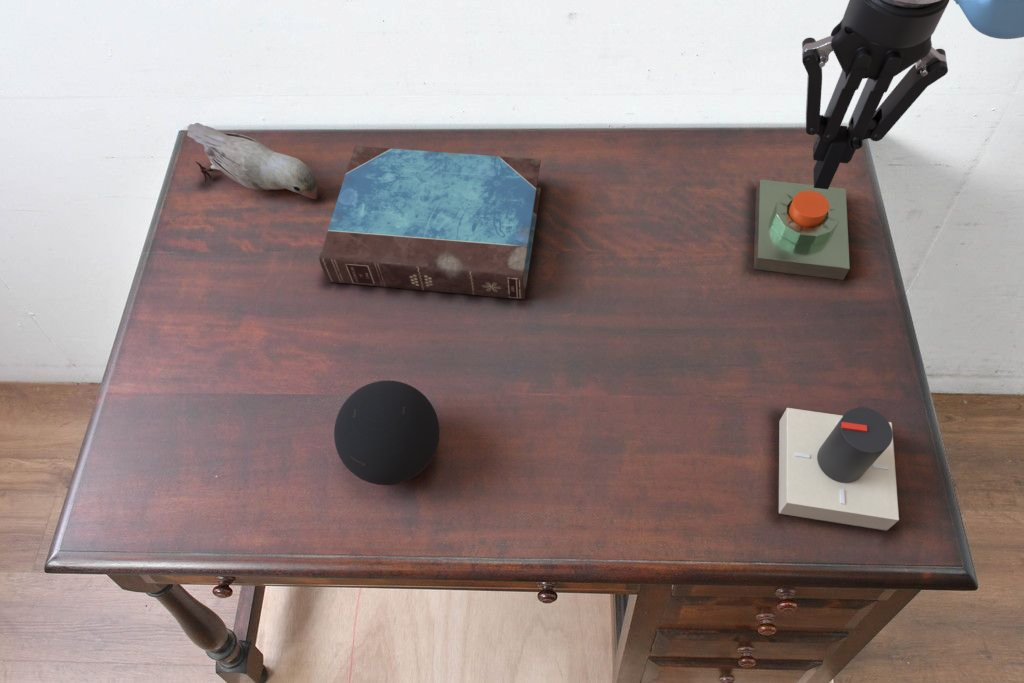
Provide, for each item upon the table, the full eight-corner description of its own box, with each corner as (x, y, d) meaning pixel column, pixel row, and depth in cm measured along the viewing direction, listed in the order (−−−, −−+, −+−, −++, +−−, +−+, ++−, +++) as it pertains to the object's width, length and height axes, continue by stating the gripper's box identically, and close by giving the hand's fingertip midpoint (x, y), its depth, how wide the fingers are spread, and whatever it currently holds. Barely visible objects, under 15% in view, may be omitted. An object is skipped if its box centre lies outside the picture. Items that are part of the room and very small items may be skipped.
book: (328, 284, 92) (318, 258, 88) (362, 172, 101) (355, 144, 97) (523, 302, 90) (522, 276, 86) (541, 186, 99) (541, 157, 95)
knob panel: (887, 530, 75) (900, 519, 72) (778, 513, 76) (787, 502, 73) (880, 435, 80) (892, 421, 77) (779, 420, 81) (787, 406, 79)
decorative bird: (309, 215, 98) (292, 172, 91) (197, 184, 101) (174, 140, 95) (329, 184, 100) (314, 140, 94) (219, 155, 104) (198, 110, 97)
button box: (843, 280, 90) (855, 258, 87) (753, 269, 91) (761, 247, 88) (840, 200, 96) (850, 177, 93) (755, 191, 97) (763, 168, 94)
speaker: (438, 402, 84) (427, 354, 75) (450, 491, 78) (438, 450, 70) (344, 417, 83) (321, 370, 75) (348, 508, 78) (325, 468, 69)
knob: (863, 443, 76) (892, 409, 70) (866, 486, 74) (895, 455, 68) (816, 437, 77) (840, 402, 71) (817, 479, 75) (842, 447, 68)
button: (825, 229, 89) (829, 219, 88) (788, 225, 90) (792, 215, 88) (824, 202, 92) (828, 192, 90) (788, 198, 92) (792, 188, 91)
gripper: (825, 4, 65) (758, 198, 85) (994, 18, 63) (885, 212, 83) (824, -51, 69) (759, 147, 89) (983, -39, 67) (881, 160, 87)
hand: (820, 179), depth 86 cm, fingers closed
